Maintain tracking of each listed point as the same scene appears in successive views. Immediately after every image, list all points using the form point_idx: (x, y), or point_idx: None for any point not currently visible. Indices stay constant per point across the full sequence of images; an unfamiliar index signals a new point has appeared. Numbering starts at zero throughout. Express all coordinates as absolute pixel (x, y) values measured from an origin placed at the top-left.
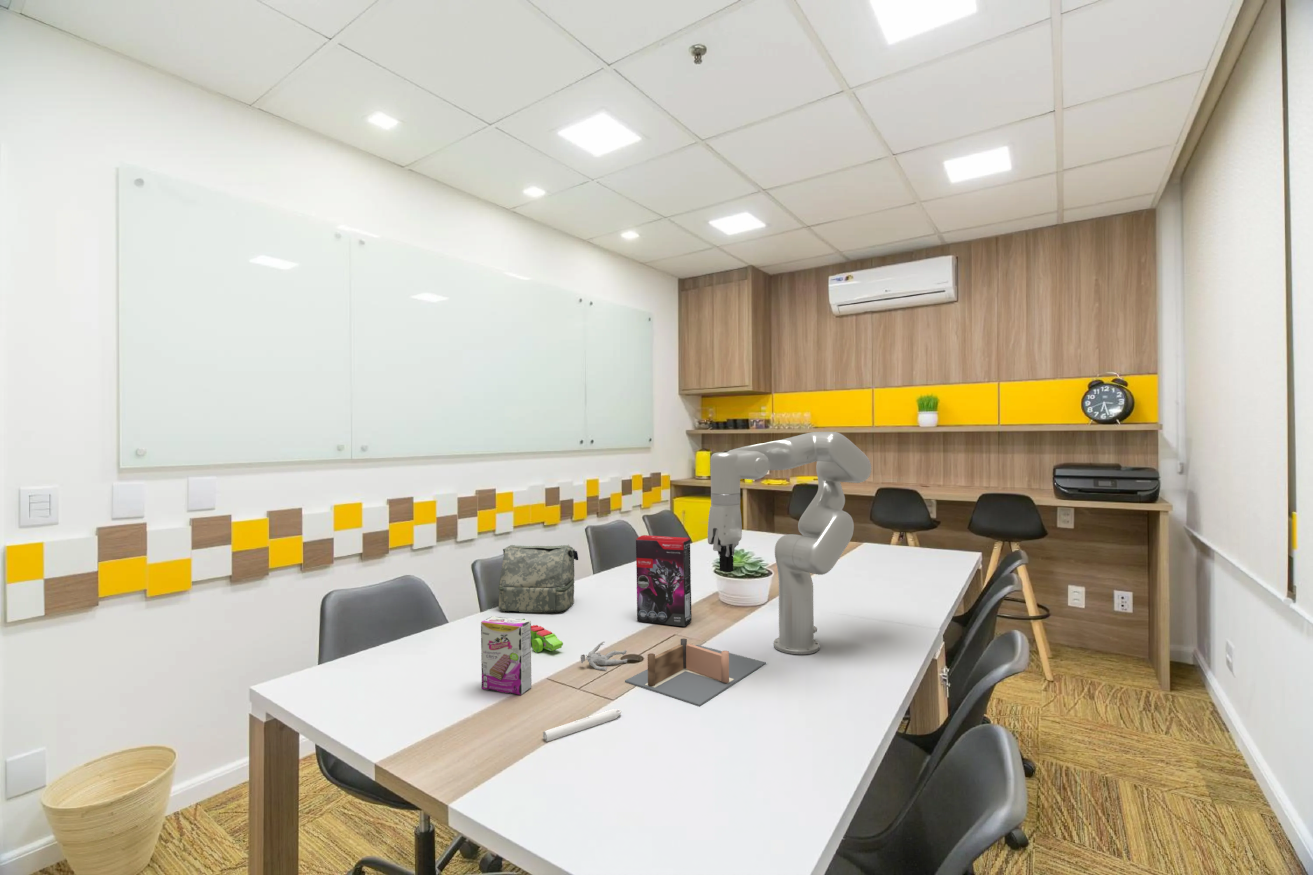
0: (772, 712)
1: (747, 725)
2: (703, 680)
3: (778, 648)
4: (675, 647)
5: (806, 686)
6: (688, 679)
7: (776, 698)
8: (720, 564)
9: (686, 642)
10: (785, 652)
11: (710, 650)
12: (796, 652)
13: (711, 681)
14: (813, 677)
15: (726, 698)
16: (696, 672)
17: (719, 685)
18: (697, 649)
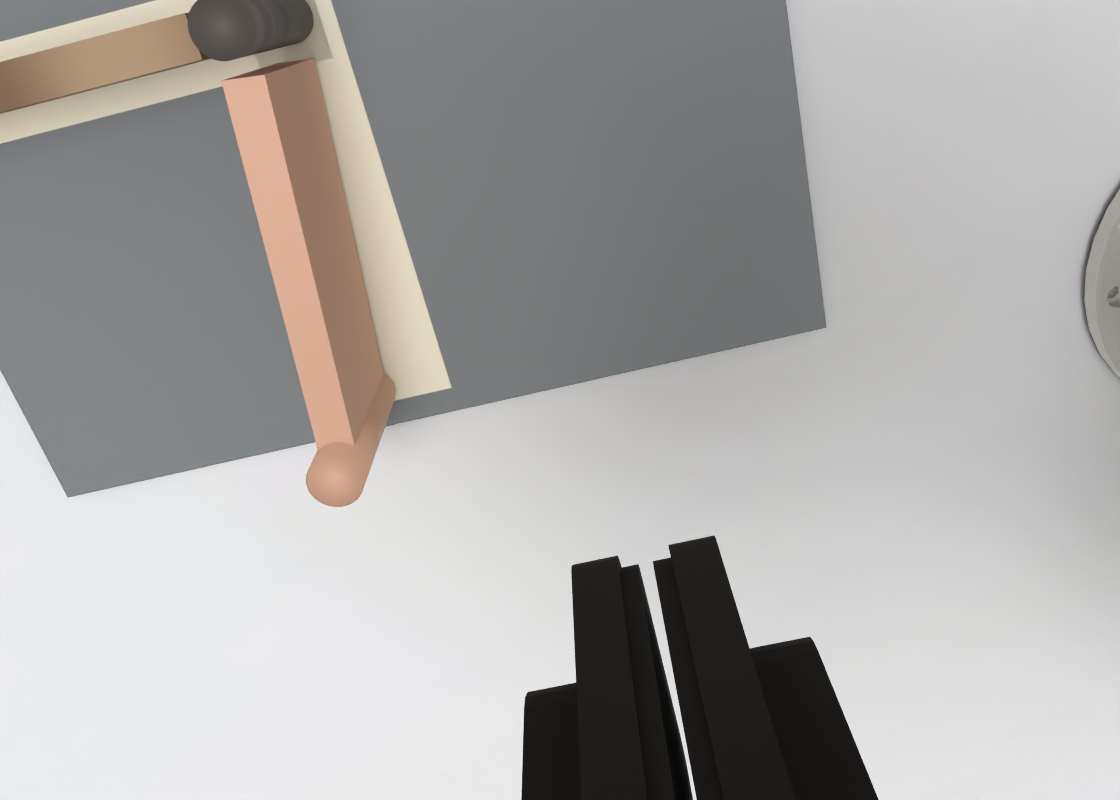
0: (348, 717)
1: (168, 729)
2: None
3: (1106, 223)
4: (111, 53)
5: None
6: (198, 207)
7: (473, 647)
8: (579, 675)
9: (241, 57)
10: (1085, 285)
11: (321, 321)
12: (1107, 358)
13: None
14: (835, 608)
15: (257, 510)
16: None
17: None
18: (260, 217)
